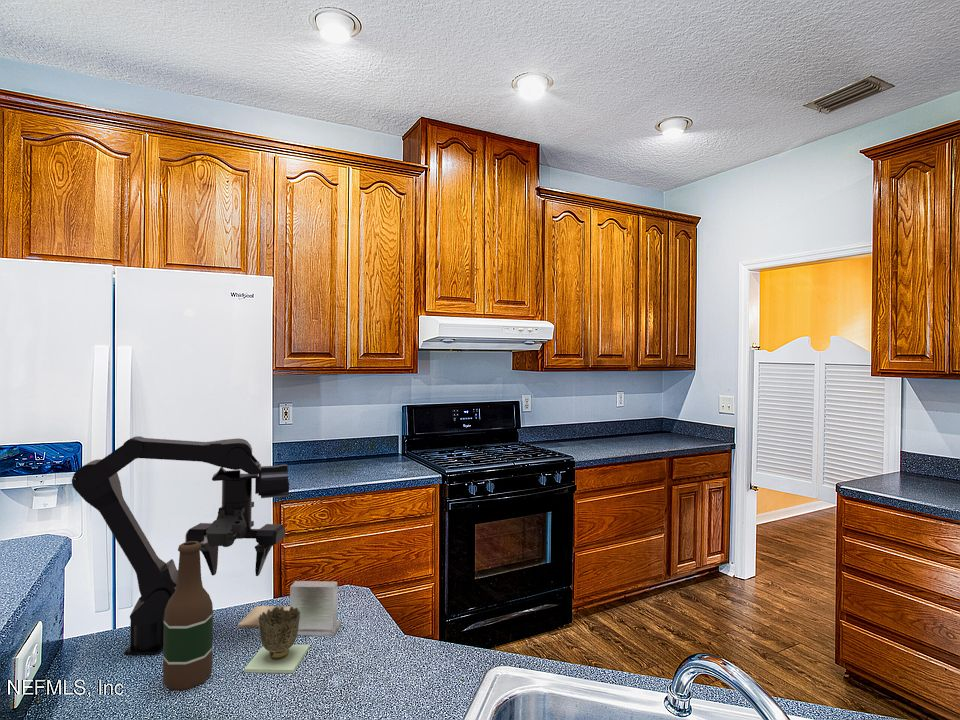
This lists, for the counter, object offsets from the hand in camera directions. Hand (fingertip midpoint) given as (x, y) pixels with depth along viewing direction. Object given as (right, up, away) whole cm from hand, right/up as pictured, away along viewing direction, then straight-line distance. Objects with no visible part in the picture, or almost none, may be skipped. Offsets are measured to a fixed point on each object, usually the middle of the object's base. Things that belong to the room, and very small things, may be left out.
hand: (235, 575), depth 114 cm
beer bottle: (-1, -12, -17) cm, 21 cm away
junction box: (+16, -12, +2) cm, 20 cm away
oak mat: (+4, -12, +7) cm, 14 cm away
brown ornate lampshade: (+13, -12, -10) cm, 20 cm away
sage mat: (+13, -12, -10) cm, 20 cm away
